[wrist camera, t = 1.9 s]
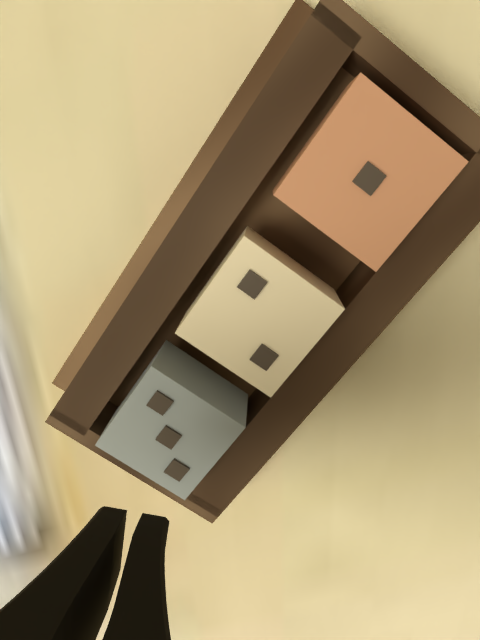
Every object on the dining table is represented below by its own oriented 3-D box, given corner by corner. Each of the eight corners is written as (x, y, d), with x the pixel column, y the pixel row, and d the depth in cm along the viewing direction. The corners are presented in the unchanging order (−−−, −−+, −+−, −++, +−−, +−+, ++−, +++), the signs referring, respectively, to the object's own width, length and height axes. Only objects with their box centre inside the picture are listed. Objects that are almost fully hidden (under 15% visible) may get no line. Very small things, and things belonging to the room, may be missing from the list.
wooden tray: (505, 176, 17) (553, 179, 15) (233, 487, 23) (229, 533, 20) (296, 2, 16) (303, -33, 13) (57, 377, 21) (25, 410, 18)
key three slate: (248, 394, 19) (245, 429, 16) (194, 460, 20) (184, 501, 17) (166, 339, 18) (150, 367, 16) (115, 411, 19) (93, 447, 17)
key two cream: (333, 288, 17) (345, 309, 15) (270, 367, 18) (270, 399, 16) (247, 225, 17) (243, 236, 14) (186, 310, 18) (174, 334, 15)
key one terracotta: (437, 162, 15) (470, 161, 13) (360, 257, 17) (376, 272, 14) (345, 87, 15) (361, 71, 12) (272, 190, 16) (273, 195, 14)
